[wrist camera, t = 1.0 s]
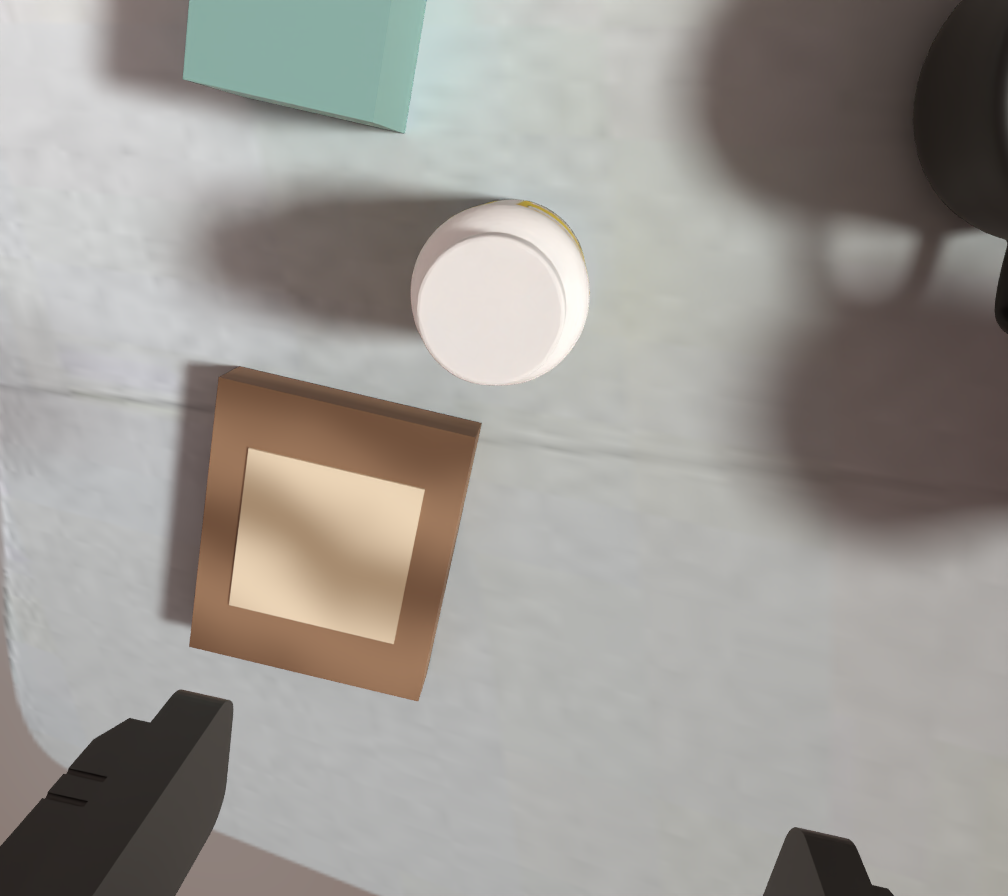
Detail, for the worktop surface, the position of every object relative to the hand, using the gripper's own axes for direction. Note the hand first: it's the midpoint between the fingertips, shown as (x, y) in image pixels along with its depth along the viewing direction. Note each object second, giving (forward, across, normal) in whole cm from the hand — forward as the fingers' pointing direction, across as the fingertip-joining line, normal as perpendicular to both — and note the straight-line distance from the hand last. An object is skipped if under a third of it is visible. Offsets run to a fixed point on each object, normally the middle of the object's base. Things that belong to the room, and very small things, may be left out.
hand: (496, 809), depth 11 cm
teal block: (+22, +10, -12) cm, 27 cm away
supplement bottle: (+22, +2, -5) cm, 23 cm away
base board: (+22, +8, +7) cm, 24 cm away
